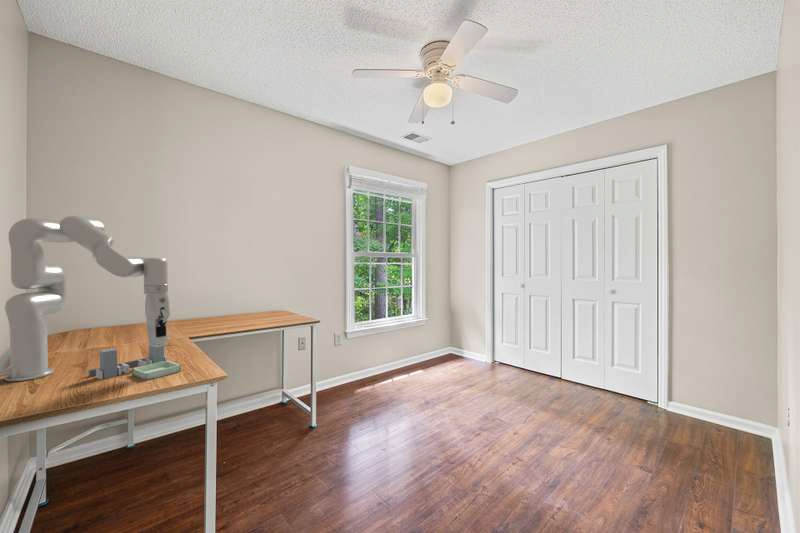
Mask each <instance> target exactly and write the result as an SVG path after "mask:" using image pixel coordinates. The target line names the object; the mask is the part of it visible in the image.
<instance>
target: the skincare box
mask: <svg viewBox="0 0 800 533" xmlns="http://www.w3.org/2000/svg"><path fill="white" fill-rule="evenodd" d="M159 318H162V317H159ZM145 319H146V327H147V328H146V329H147V330H146V331H147V338H148V347H149V346H152V347H160V346H164V347H165V346H167V345H169V341H168V340H169V339H168V332H167V331H168V330H167V327H166V336H162V337H156V327H157V323H156V319H154V317H151V316H146V315H145ZM160 321H161V320H159V323H160Z"/></svg>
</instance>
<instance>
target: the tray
mask: <svg viewBox="0 0 800 533" xmlns="http://www.w3.org/2000/svg"><path fill="white" fill-rule="evenodd" d="M179 372H182V366H181V364H178V363H176V362H173V361H169V360H167V361H163V362H159V363H154V364H150V365H146V366H141V367H138V366H136V367H132V375H133V376H135V377H137V378H139V379H142V380H144V381H149V380H154V379H157V378H160V377H164V376H168V375H172V374H176V373H179Z"/></svg>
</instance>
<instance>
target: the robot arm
mask: <svg viewBox="0 0 800 533" xmlns="http://www.w3.org/2000/svg"><path fill="white" fill-rule="evenodd" d="M105 228H106V227H105V225H104V224H103V223H102V221H100V220H99V219H97V218H93V217H88V216H80V215H70V216H65V217H63V218H62V219H60V220H53V219H48V218H47V219H46V218H34V217H33V218H24V219H20V220H18V221H16V222H14V224H13V225H11V227H10V229H9V230H8V242H9V248H10V280H11V283H12V285H13V286H14V288H16V289H21V290H33V289H34V290H35V289H37V290H38V291H31V292H24V293H18V294H15V295H12V296H11V297H9V299H7V300H6V302H5V305H4V311H5V314H6V317H7V320H8V321H7V322H8V325H9V326H8V327H9V339H10V340H9V343H10V348H9V349H10V350H9V351H10V365H8V367H6V368H4V370H3V369H1V370H0V377H4V381H6V382H21V381H30V380H34V379H39V378H43V377H47V376H49V375H51V374H53V373H54V368H53V367H49V358H48V357H49V356H48V354H49V353H48V350H49V349H48V347H49V346H48V329H47V328H48V327H47V323H46V322H45V320H44V319H43V318H42V316H43V317H44V316H49V315H55V314H57V313H58V312H59V313H60V312H61V311H63V309H64V307H65V305H66V299H67V297H66V296H67V295H66V294H67V293H66V291H67V288H66V286H67V285H66V284H67V278H66V274H65V272H64V270H63V268H61V267H60V266H59V265H56V264H55V263H54V264H52V263H45V251H44V249H43V247H42V246H41V245H40V244H39V243H40V242H44V243H45V242H46V243H73V242H74V243H76V244H78V245H80V246H81V247H82V248H84V249H86V250H87V251H88V252H90V253H91V254H92V257H93V259H94V260H95V262H96V263H97V265H99V266H100V267H101V268H103V269H104V270H105V271H107V272H108V273H111V274H112V275H114V276H116V277H119V278H132V277H133V278H135V277H143V294H144V295H145V302H144V312H145V313H144V314H145V317H146V316H151V317H154V319H156V323H157V327H156V337H162V336H166V328H167V322H168V319H169V318H170V317H171V316H170V315H171V314H170V312H171V311H170V300H169V299H170V298H169V291H168V289H169V287H168V285H169V284H168V283H169V282H168V276H169V275H168V260H167V259H166V258H164V257H148V258H147V257H142V256H139V257H137V256H135V257H134V256H124V255H122V254H121V253H119V252H118V251H116V250H115V249H113V248H112V247H113V244H114V238H113V237H112V236H111V235H110V234H108V233H107V232H106V229H105ZM159 317H162V318H159ZM159 320H161V321H160V323H159Z"/></svg>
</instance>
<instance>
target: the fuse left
mask: <svg viewBox="0 0 800 533" xmlns="http://www.w3.org/2000/svg"><path fill="white" fill-rule="evenodd" d="M117 364H118V349H116V348H113V347H112V348H111V347H110V348H107V349H100V350H99V368H100V370H102V371H103V379H105V380H106V379H109V378H113V377H117V376H118V375H117Z"/></svg>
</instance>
